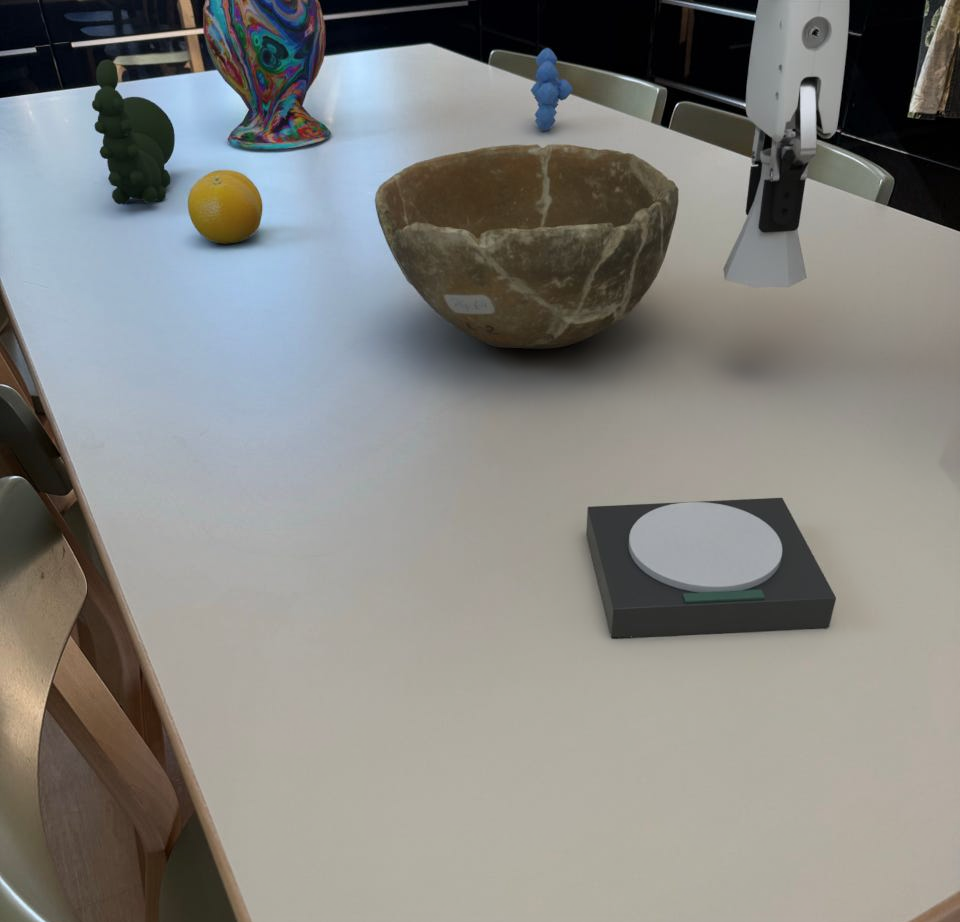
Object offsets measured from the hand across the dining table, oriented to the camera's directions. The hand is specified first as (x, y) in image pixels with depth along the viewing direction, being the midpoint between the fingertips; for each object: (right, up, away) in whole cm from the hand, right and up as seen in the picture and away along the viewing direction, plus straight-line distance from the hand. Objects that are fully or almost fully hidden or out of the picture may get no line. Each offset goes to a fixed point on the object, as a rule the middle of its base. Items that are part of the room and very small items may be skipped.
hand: (771, 220), depth 86 cm
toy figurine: (-72, +27, +57) cm, 96 cm away
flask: (0, -4, +3) cm, 5 cm away
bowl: (-20, -6, +15) cm, 26 cm away
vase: (-57, +46, +79) cm, 108 cm away
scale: (-10, -31, -16) cm, 36 cm away
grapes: (-13, +47, +80) cm, 94 cm away
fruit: (-55, +14, +41) cm, 70 cm away
